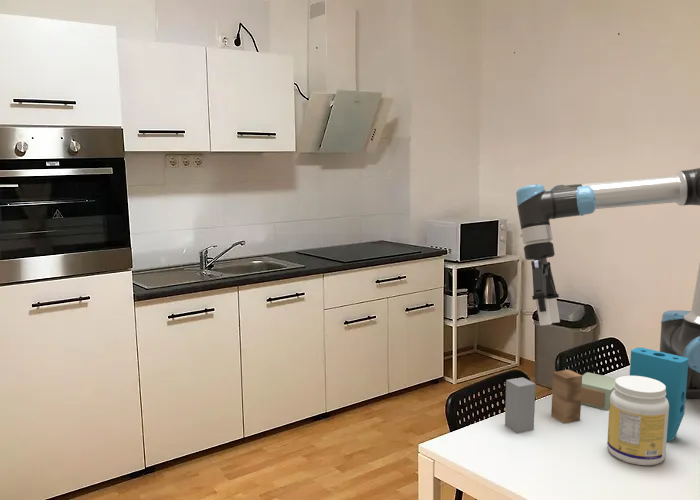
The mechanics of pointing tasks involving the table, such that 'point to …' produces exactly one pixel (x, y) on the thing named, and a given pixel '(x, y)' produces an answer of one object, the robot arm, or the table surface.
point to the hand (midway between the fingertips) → (550, 324)
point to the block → (664, 380)
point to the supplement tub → (638, 420)
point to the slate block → (520, 405)
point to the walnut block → (566, 396)
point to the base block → (597, 390)
